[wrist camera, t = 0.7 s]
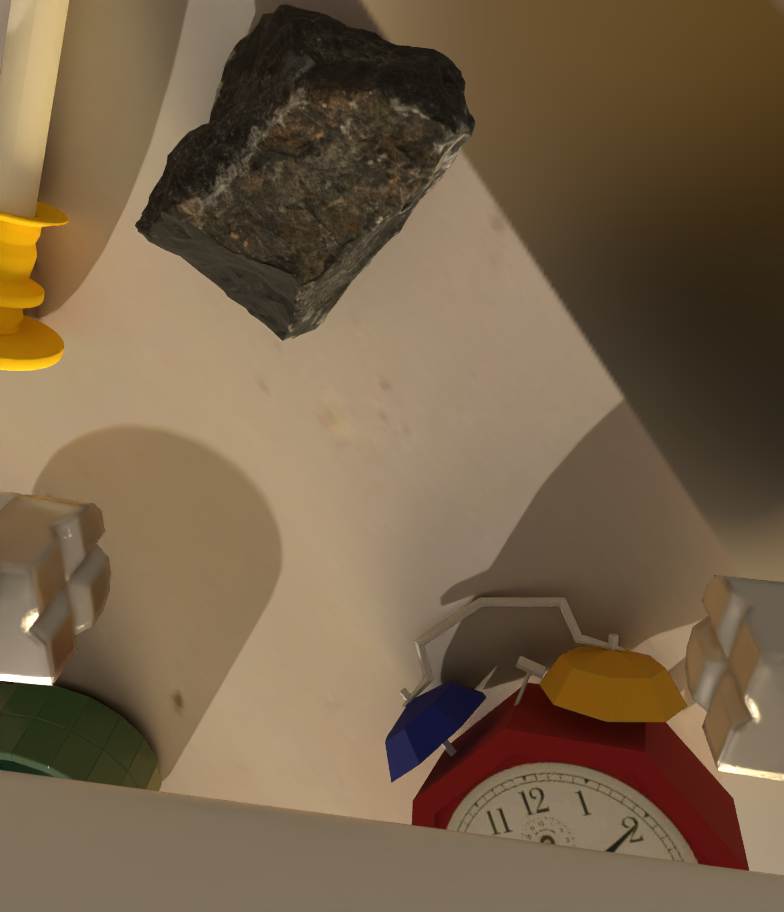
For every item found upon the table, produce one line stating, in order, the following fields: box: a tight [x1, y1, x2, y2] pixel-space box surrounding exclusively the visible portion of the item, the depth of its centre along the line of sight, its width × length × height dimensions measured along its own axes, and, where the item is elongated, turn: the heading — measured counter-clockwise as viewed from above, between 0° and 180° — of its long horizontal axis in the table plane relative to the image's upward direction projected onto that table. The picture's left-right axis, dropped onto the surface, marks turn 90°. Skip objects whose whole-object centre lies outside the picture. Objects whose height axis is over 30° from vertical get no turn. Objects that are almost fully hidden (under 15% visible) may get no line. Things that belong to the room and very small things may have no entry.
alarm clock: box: [385, 597, 749, 871], centre depth 35 cm, size 15×9×20 cm
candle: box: [0, 0, 69, 371], centre depth 25 cm, size 5×5×16 cm
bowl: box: [0, 682, 162, 791], centre depth 42 cm, size 12×12×5 cm
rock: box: [135, 5, 475, 341], centre depth 23 cm, size 8×7×10 cm
